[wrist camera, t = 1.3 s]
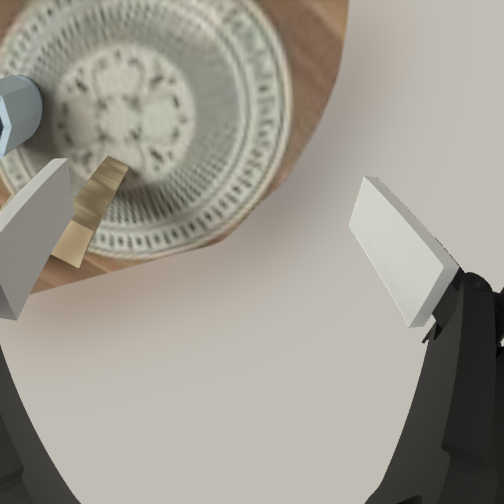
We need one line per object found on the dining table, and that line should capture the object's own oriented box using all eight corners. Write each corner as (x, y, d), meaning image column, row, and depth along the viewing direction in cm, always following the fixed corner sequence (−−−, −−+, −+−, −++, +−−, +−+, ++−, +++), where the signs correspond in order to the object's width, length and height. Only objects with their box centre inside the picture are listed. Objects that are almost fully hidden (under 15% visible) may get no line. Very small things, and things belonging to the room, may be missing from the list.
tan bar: (93, 185, 36) (50, 254, 24) (107, 155, 34) (62, 215, 23) (114, 196, 37) (78, 268, 26) (129, 166, 35) (93, 231, 24)
